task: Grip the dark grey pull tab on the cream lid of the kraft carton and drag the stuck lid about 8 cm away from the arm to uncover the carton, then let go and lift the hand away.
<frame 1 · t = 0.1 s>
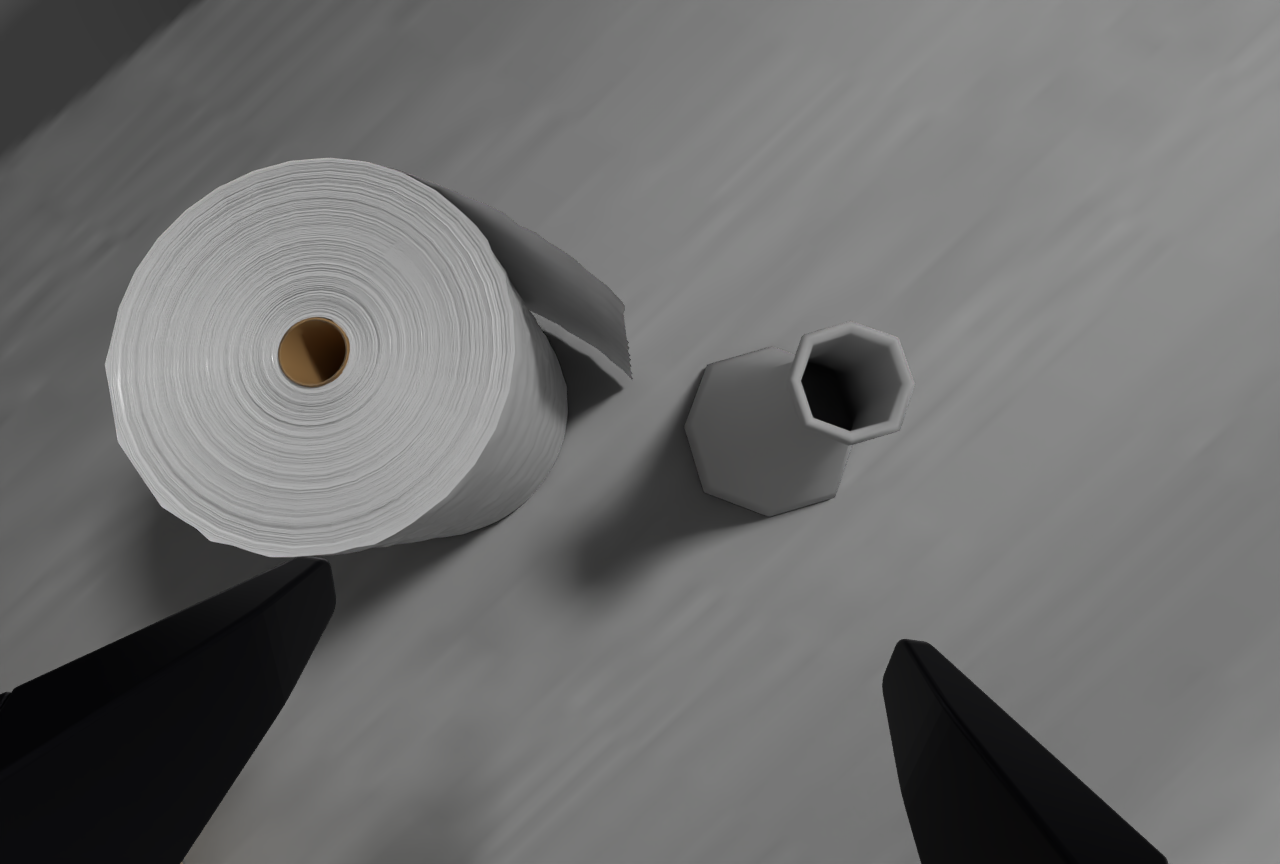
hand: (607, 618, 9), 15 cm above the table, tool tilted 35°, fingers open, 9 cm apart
toilet tissue: (459, 400, 25), on the table
flask: (767, 431, 25), on the table
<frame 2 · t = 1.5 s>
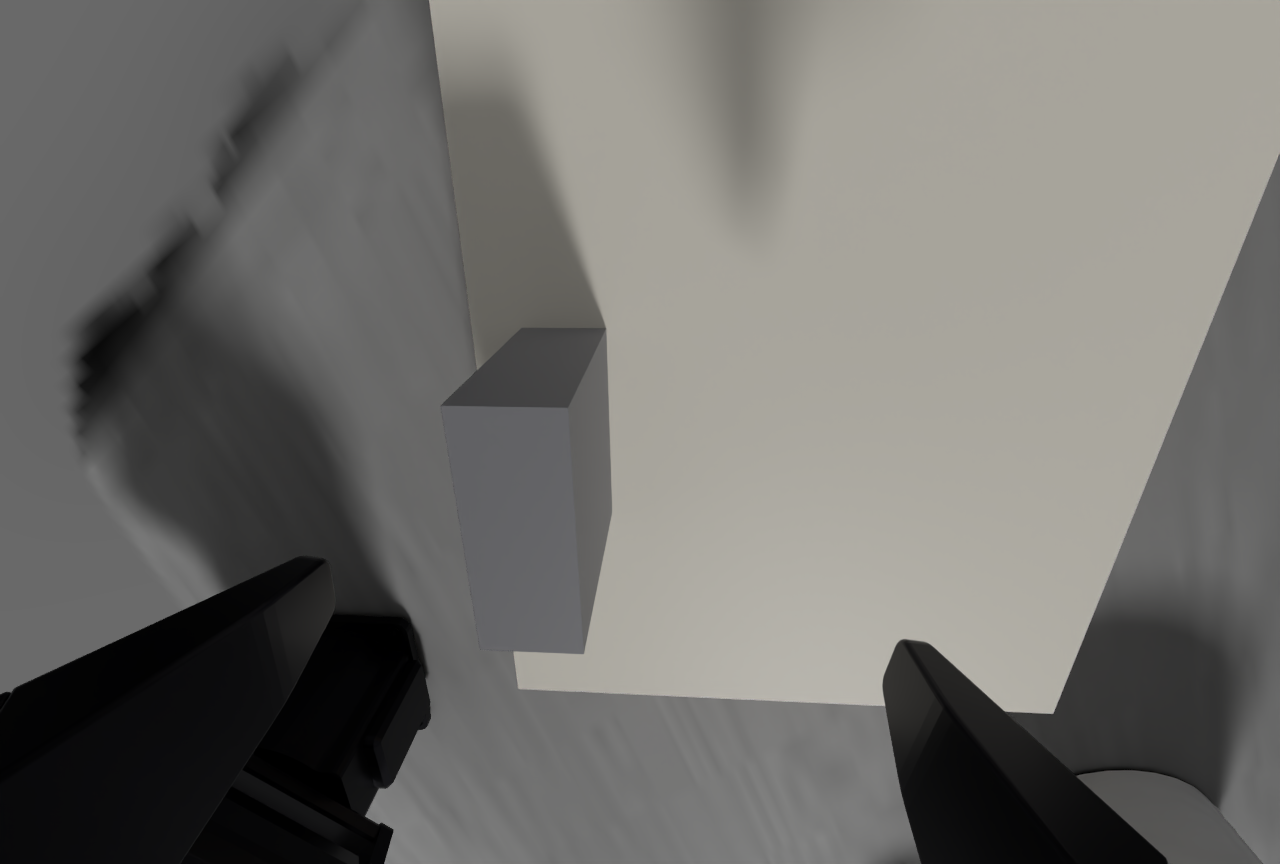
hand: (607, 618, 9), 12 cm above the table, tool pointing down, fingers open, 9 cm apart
carton lid: (834, 473, 12), point 8 cm above the table, slide at 0.0 cm
toilet tissue: (1093, 842, 29), on the table
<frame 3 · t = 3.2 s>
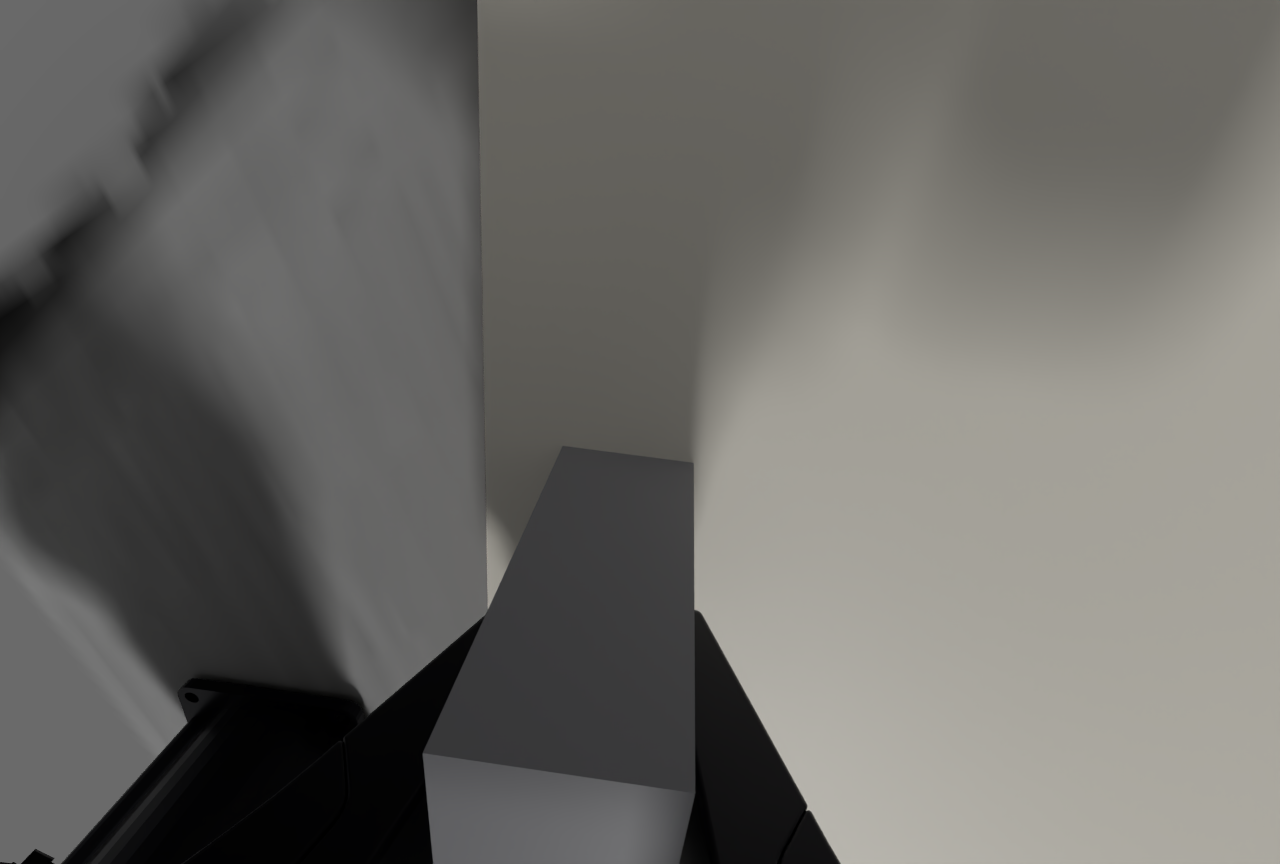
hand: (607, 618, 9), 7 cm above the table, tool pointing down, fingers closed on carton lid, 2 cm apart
carton lid: (1043, 755, 8), point 8 cm above the table, slide at 0.0 cm, touching gripper
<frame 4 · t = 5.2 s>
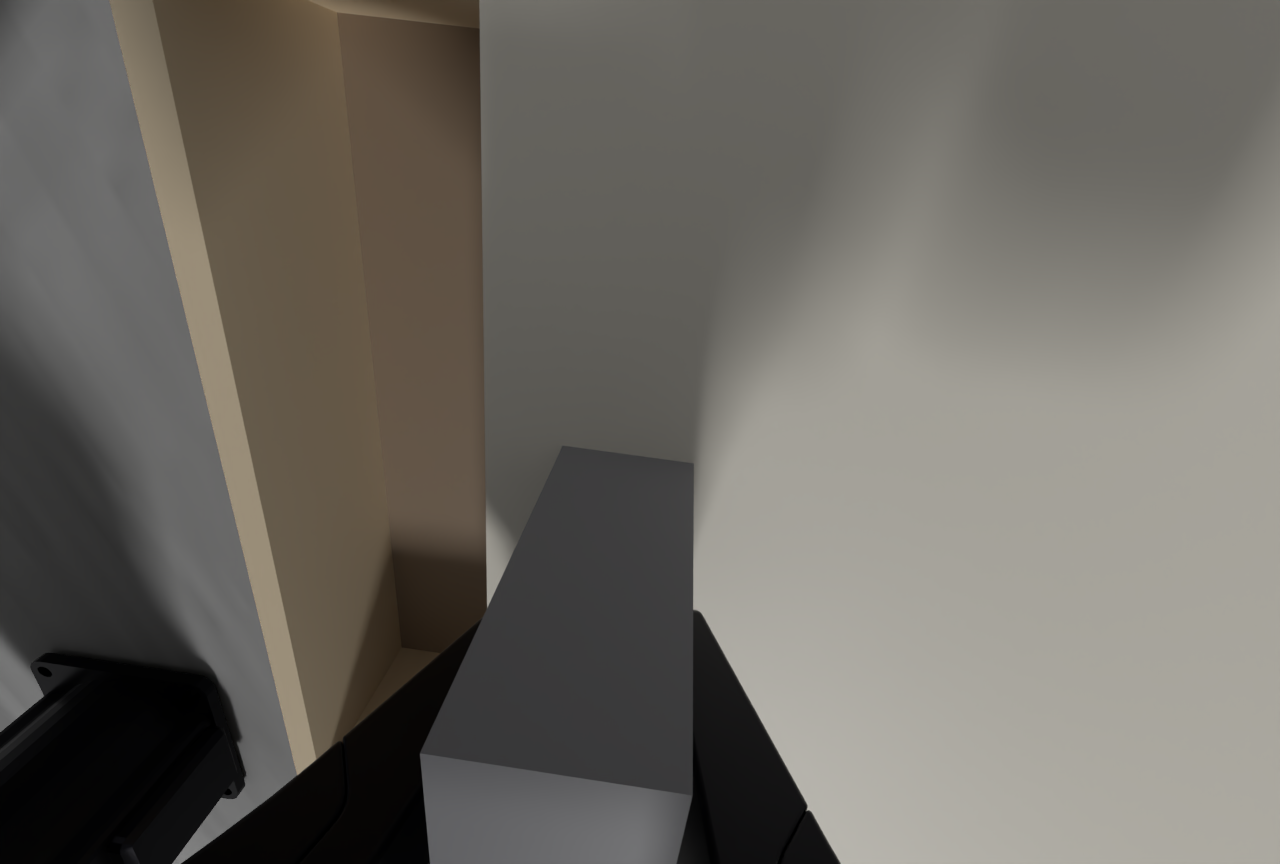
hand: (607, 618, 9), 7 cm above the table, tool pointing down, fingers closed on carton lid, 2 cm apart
carton lid: (1041, 758, 8), point 8 cm above the table, slide at 5.4 cm, touching gripper
carton: (663, 437, 15), on the table
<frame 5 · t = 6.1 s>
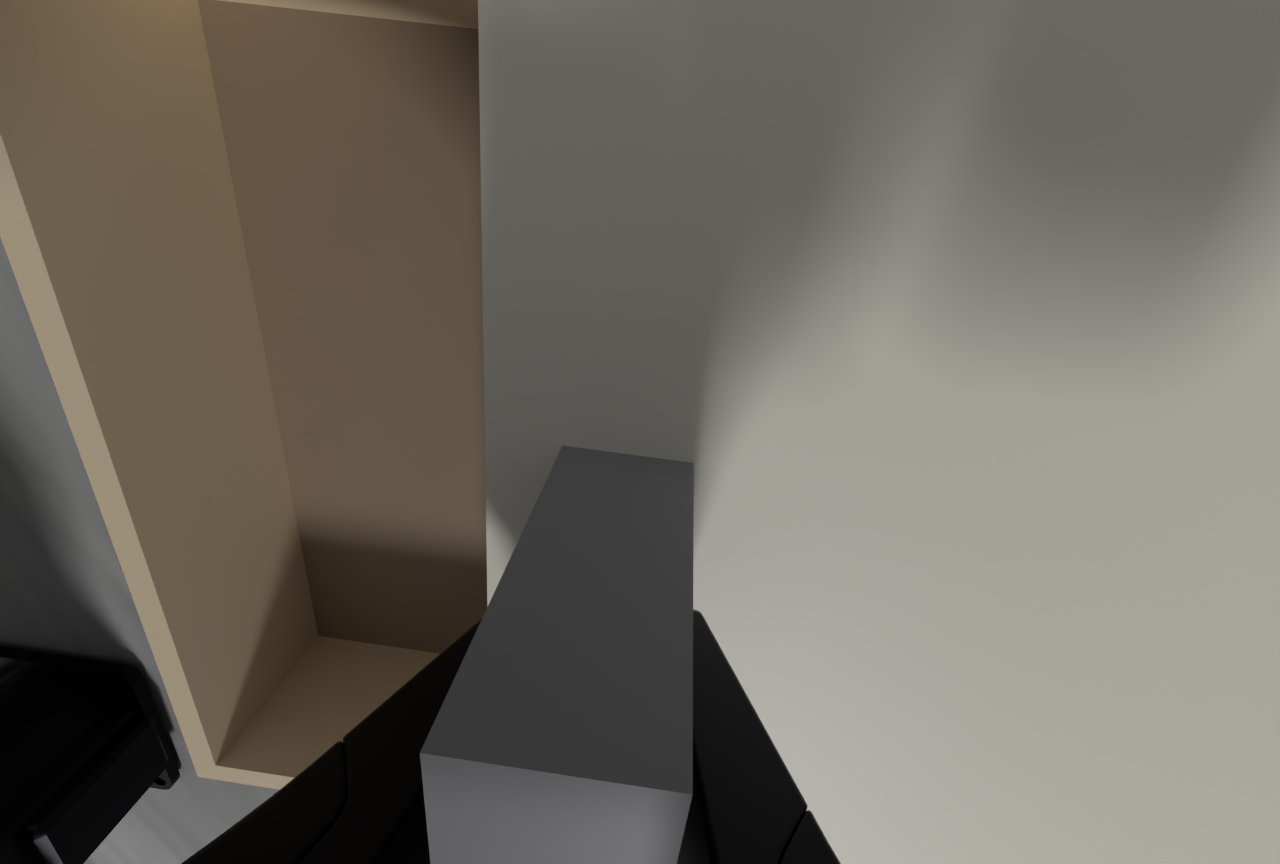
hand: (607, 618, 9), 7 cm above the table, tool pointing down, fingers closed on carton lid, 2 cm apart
carton lid: (1042, 757, 8), point 8 cm above the table, slide at 8.2 cm, touching gripper
carton: (559, 423, 15), on the table
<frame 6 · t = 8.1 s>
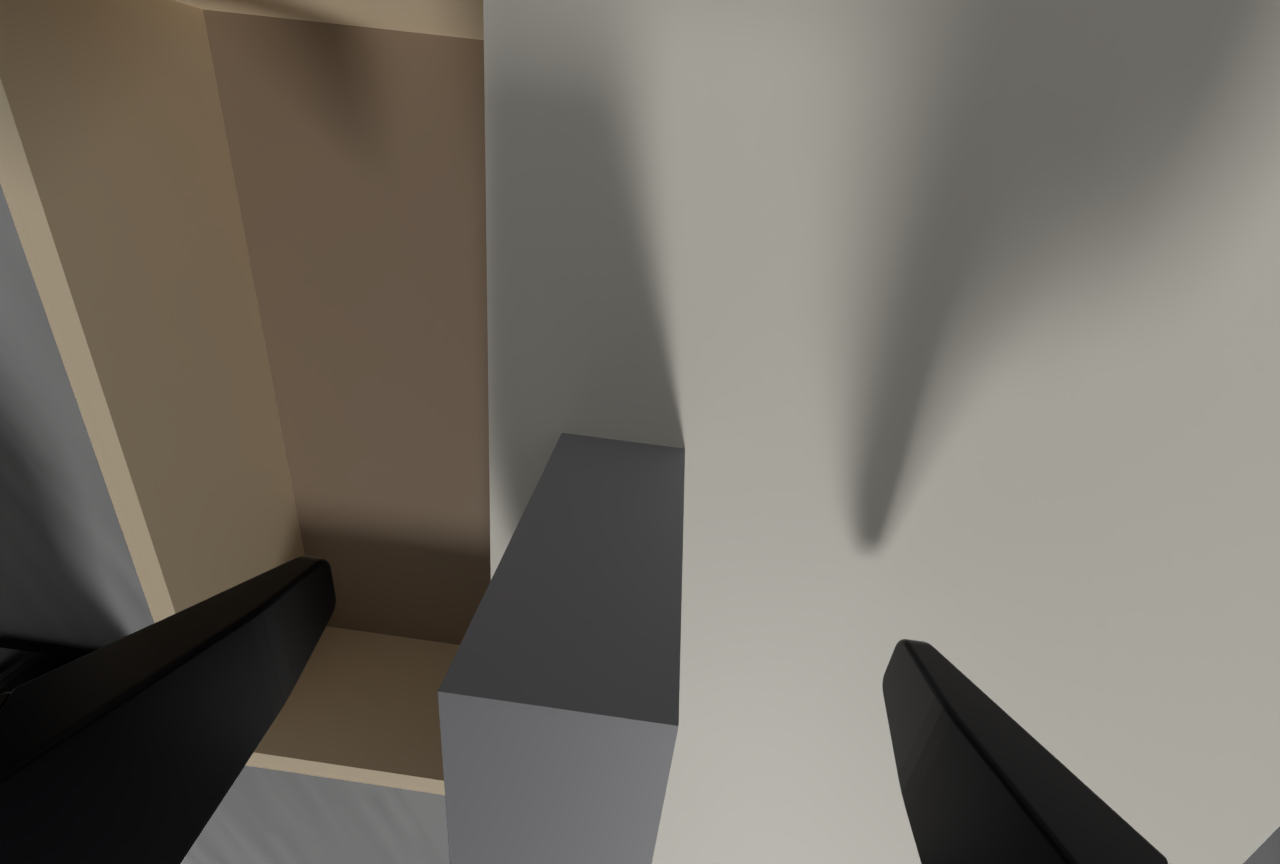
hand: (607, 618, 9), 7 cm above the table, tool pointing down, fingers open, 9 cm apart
carton lid: (1009, 719, 8), point 8 cm above the table, slide at 8.4 cm
carton: (551, 416, 16), on the table
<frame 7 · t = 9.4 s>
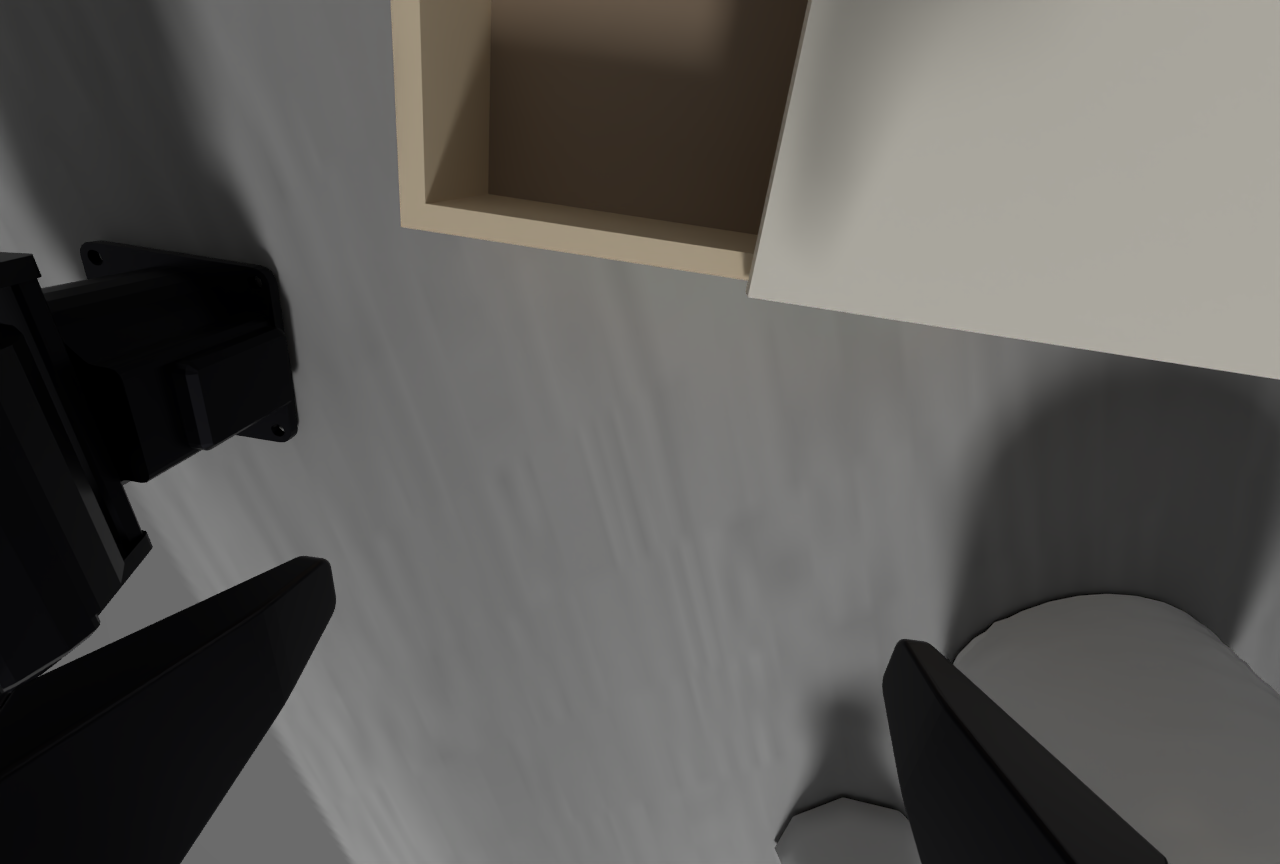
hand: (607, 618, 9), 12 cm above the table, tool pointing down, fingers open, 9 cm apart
toilet tissue: (1068, 696, 25), on the table
flask: (847, 834, 30), on the table
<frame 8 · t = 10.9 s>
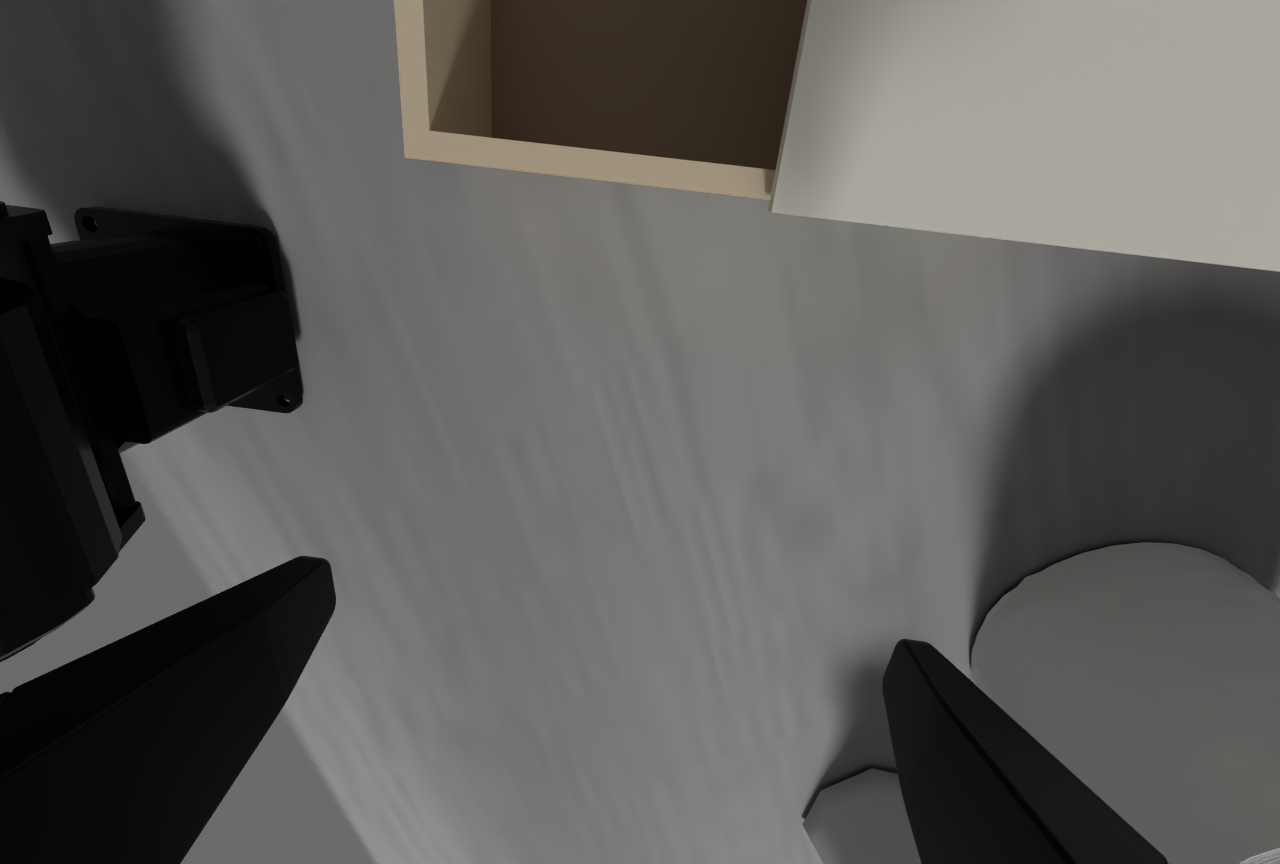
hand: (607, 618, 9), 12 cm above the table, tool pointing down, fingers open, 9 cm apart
toilet tissue: (1103, 653, 24), on the table
flask: (877, 808, 29), on the table
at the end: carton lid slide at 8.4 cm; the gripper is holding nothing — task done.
